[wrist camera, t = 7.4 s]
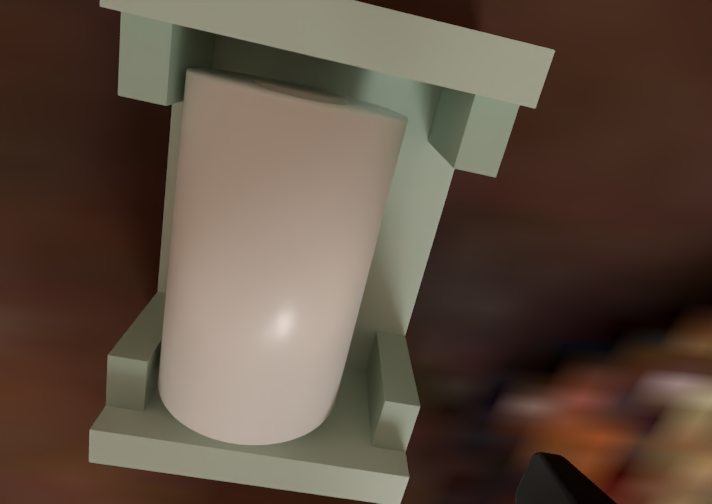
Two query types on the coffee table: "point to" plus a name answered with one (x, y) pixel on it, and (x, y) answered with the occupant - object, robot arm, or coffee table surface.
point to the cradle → (396, 235)
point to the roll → (269, 251)
